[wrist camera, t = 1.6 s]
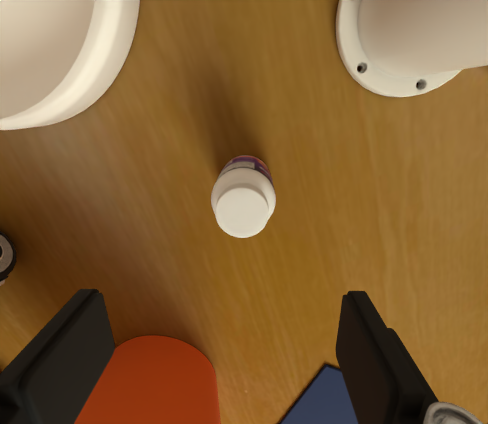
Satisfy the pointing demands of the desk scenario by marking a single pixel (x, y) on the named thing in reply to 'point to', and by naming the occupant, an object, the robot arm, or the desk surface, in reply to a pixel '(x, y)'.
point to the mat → (323, 401)
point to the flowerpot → (154, 385)
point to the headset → (6, 257)
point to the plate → (60, 56)
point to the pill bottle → (243, 196)
